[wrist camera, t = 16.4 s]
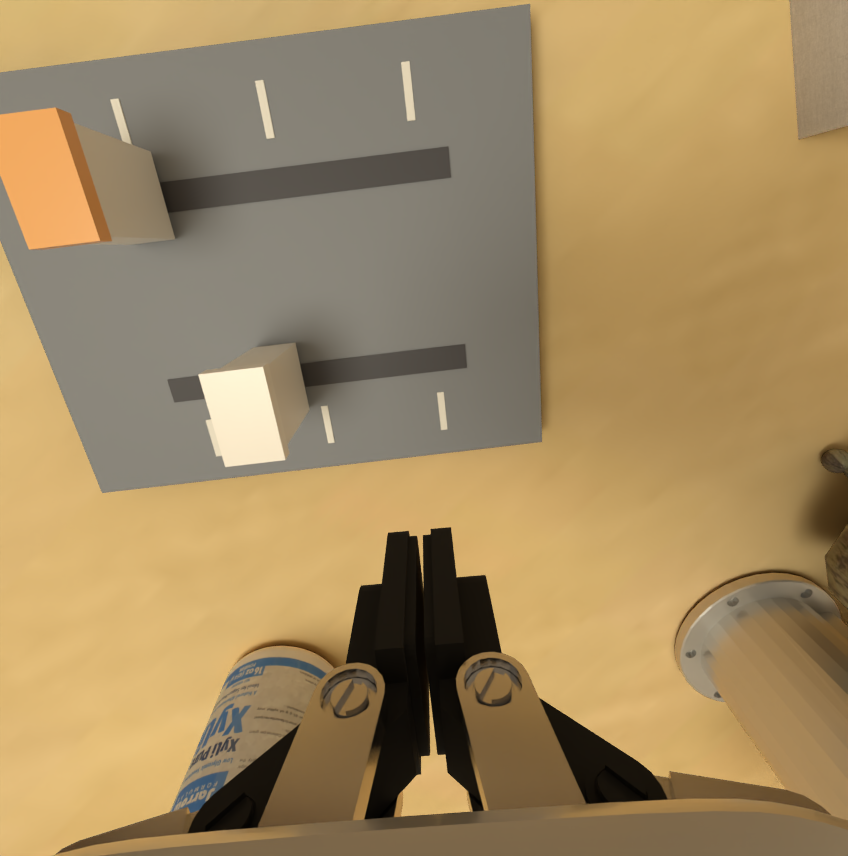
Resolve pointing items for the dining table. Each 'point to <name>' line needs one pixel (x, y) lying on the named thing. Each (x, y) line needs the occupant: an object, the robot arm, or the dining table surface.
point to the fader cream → (256, 404)
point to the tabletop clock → (844, 557)
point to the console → (304, 244)
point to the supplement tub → (250, 717)
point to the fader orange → (78, 183)
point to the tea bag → (820, 64)
